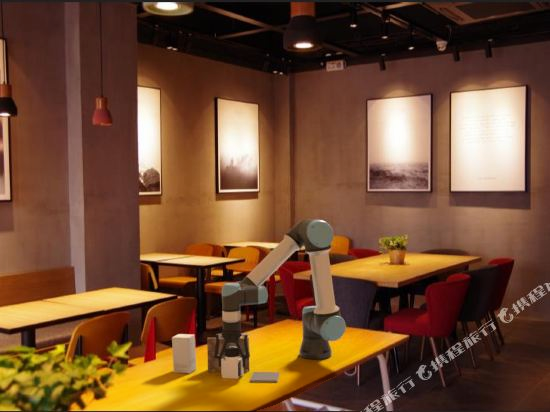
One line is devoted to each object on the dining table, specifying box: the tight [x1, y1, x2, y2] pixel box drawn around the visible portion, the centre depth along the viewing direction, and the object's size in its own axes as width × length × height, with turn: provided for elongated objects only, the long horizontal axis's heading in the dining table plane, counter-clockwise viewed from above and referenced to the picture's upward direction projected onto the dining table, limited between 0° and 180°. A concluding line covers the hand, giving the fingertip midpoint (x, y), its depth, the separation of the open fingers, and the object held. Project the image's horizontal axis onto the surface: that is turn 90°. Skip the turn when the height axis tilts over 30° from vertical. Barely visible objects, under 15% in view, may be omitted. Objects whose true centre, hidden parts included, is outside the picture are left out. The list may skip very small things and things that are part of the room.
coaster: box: [249, 371, 280, 383], centre depth 247 cm, size 11×11×1 cm
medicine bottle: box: [221, 347, 242, 380], centre depth 250 cm, size 7×7×12 cm
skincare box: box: [171, 333, 197, 374], centre depth 258 cm, size 8×7×16 cm
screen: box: [206, 337, 250, 373], centre depth 258 cm, size 18×6×14 cm, turn 85°
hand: (232, 374), depth 250 cm, fingers closed on medicine bottle, 7 cm apart
